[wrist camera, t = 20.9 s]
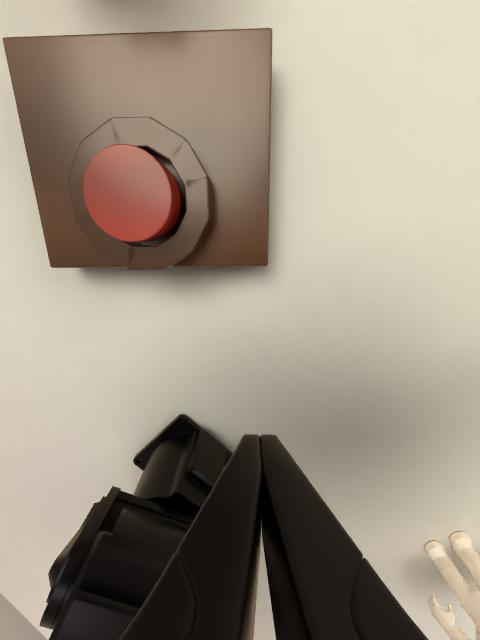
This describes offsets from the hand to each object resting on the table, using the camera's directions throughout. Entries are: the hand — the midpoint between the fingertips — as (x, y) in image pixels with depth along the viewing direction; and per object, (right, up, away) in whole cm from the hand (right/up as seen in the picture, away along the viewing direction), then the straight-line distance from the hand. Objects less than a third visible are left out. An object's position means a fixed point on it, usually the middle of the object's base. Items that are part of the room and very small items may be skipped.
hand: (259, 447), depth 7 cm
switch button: (-5, +9, +7) cm, 13 cm away
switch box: (-5, +13, +10) cm, 17 cm away
